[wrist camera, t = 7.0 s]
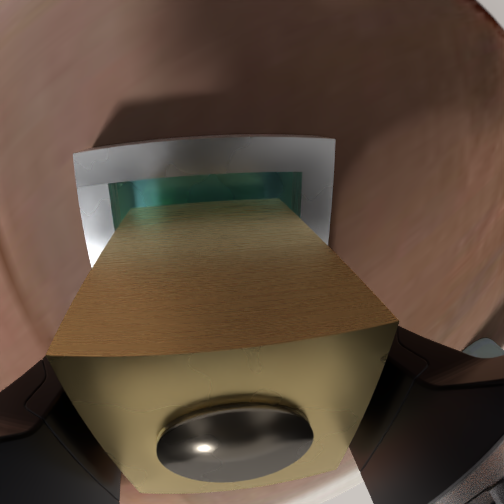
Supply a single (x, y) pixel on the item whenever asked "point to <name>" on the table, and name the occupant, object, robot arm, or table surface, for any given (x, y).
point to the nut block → (221, 348)
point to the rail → (203, 177)
